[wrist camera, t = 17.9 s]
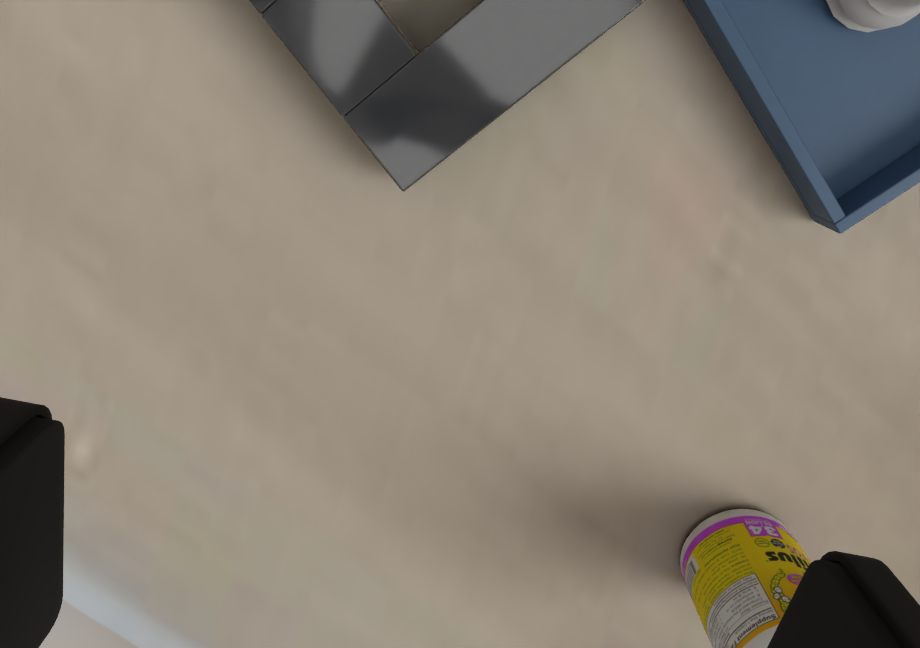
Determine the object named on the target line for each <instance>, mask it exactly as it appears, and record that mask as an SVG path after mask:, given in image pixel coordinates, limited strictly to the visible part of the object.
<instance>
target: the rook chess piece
mask: <svg viewBox="0 0 920 648" xmlns="http://www.w3.org/2000/svg"><path fill="white" fill-rule="evenodd" d="M826 1H827V3H828V5H829V7H830V10H831V12H832V14H833V16H834V17H835V18H836V19H837V20H839V21H840V22H841V23H842V24H844V25H845V26H846V27H847V28H849V29H854V30H859V31H863V32H872V31H876V30H882V29H887V28H891V27H896V26H900V25H902V24H904V23H906V22H907V21H909V20H910V19H912V18H913V17H915V16H916V15H918V14H919V13H920V0H826Z"/></svg>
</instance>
